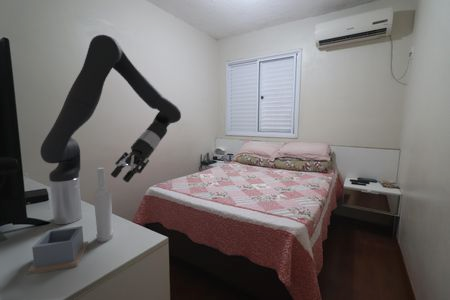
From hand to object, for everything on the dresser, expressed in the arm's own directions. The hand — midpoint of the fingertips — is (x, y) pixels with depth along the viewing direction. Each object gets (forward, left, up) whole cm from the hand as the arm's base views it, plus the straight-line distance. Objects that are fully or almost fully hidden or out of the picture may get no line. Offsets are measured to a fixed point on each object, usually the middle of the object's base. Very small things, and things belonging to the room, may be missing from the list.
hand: (118, 178), depth 75 cm
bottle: (+3, -5, -20) cm, 21 cm away
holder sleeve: (+11, -15, -20) cm, 27 cm away
